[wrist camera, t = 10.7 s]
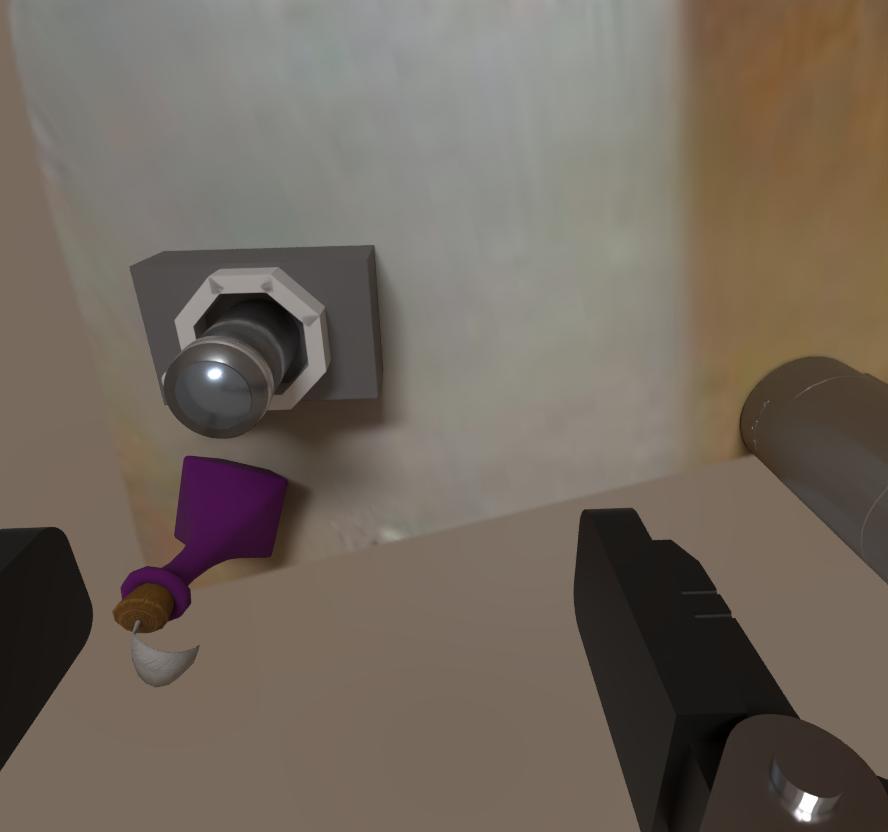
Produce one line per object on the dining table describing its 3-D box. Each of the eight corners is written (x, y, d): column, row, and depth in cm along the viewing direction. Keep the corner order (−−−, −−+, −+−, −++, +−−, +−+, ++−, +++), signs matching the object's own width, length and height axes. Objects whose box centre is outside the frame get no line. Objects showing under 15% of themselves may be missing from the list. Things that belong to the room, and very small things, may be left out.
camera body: (373, 245, 39) (363, 266, 33) (383, 370, 43) (375, 411, 37) (163, 251, 39) (113, 273, 33) (192, 376, 43) (151, 418, 37)
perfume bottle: (189, 512, 48) (68, 704, 32) (199, 434, 45) (72, 602, 29) (280, 532, 49) (208, 727, 33) (296, 457, 46) (226, 632, 30)
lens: (294, 294, 36) (255, 345, 27) (306, 371, 38) (273, 439, 30) (212, 298, 36) (148, 350, 27) (229, 375, 38) (174, 444, 30)
